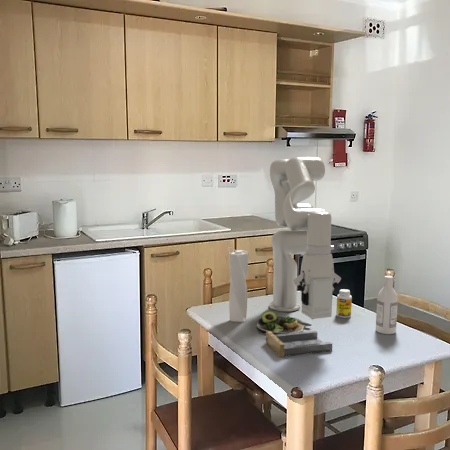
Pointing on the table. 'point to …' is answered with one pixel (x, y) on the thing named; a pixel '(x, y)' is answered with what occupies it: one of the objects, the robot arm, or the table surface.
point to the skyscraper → (238, 284)
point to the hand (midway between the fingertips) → (316, 302)
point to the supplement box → (319, 299)
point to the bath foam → (387, 308)
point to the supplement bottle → (344, 303)
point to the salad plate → (279, 323)
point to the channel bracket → (296, 343)
